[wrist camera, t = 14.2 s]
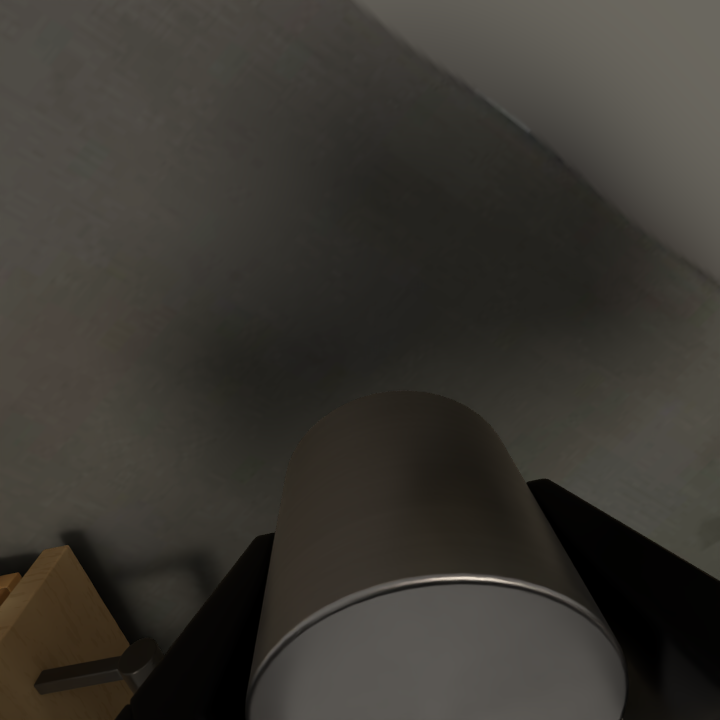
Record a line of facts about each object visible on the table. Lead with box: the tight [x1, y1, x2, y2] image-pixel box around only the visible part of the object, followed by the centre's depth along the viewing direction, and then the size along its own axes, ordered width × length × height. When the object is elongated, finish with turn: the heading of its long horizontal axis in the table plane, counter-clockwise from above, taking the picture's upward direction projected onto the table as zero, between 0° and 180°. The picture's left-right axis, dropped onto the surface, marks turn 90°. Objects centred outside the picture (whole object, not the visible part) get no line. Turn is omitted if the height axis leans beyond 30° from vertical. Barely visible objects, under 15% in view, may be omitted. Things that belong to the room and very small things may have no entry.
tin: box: [245, 390, 629, 720], centre depth 8 cm, size 5×5×4 cm
